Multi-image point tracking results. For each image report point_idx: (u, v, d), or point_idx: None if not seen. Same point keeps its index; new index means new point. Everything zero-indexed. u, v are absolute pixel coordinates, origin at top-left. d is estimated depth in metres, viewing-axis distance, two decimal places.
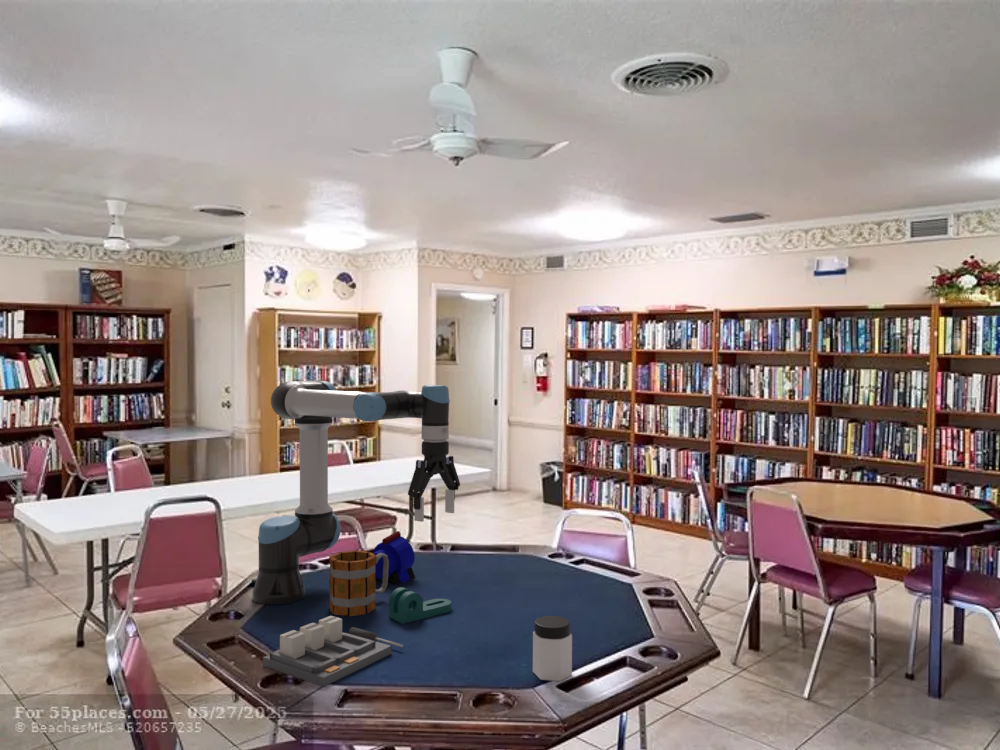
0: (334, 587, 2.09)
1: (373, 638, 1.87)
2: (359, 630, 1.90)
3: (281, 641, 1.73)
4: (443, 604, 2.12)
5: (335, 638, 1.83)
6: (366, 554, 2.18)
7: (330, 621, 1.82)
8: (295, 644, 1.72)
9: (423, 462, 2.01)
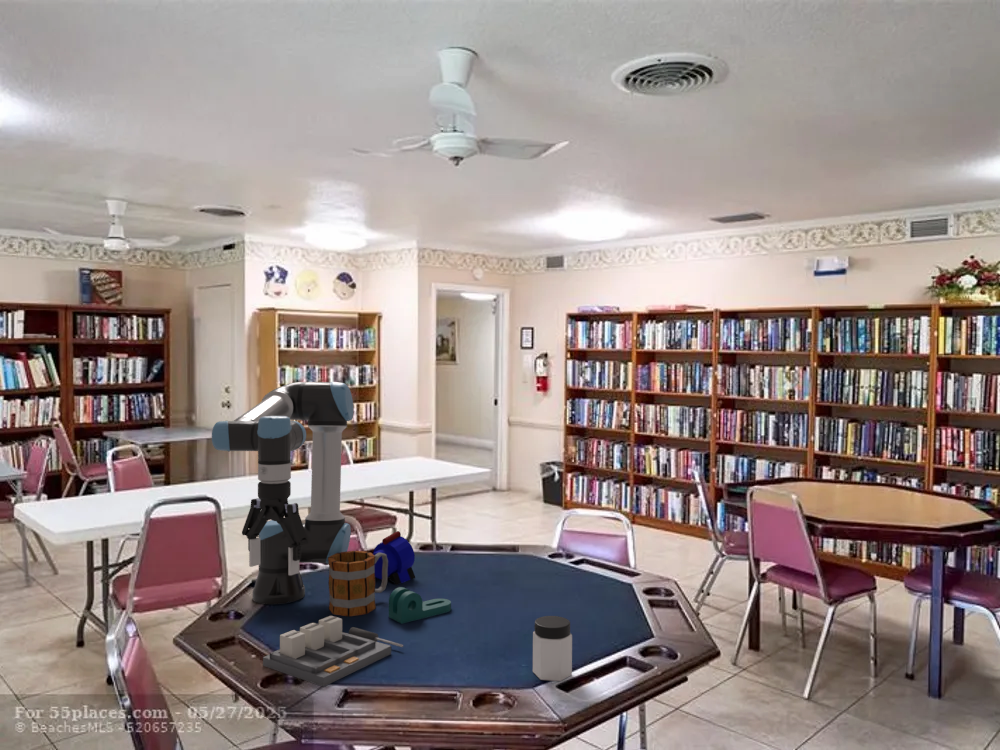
0: (333, 588, 2.09)
1: (373, 638, 1.87)
2: (359, 630, 1.90)
3: (281, 641, 1.73)
4: (443, 604, 2.12)
5: (335, 638, 1.83)
6: (365, 554, 2.18)
7: (330, 621, 1.82)
8: (295, 644, 1.72)
9: (251, 501, 1.80)
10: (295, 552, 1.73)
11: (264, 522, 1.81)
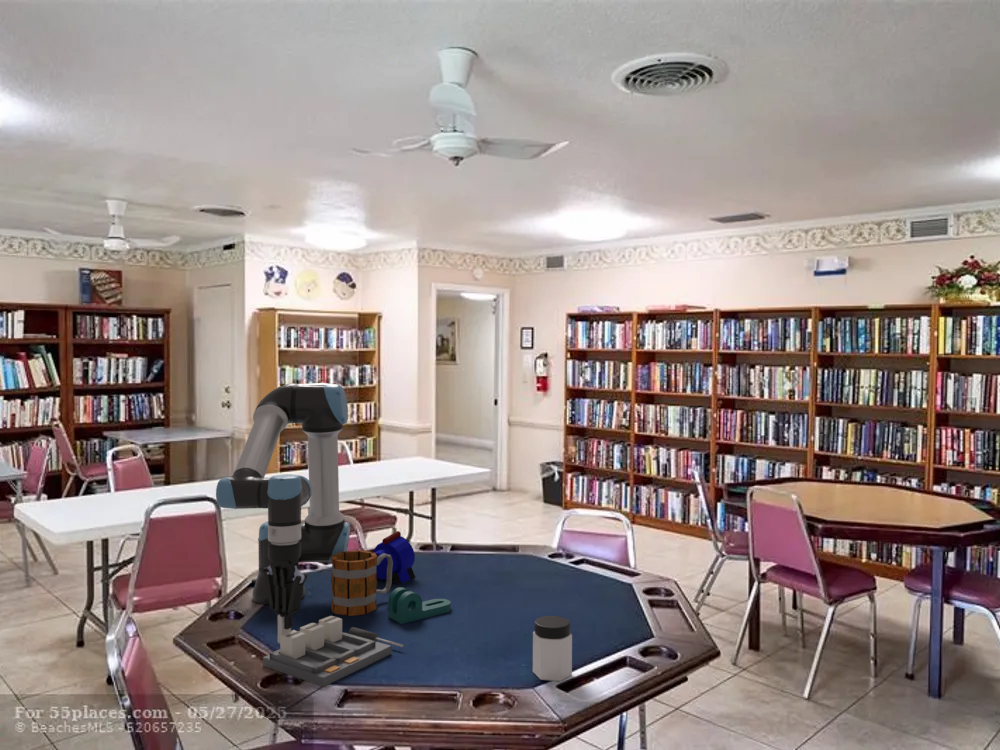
0: (334, 586, 2.10)
1: (373, 638, 1.87)
2: (359, 630, 1.90)
3: (281, 641, 1.73)
4: (442, 604, 2.12)
5: (335, 638, 1.83)
6: (369, 554, 2.18)
7: (330, 621, 1.82)
8: (295, 644, 1.72)
9: None
10: (286, 621, 1.74)
11: None
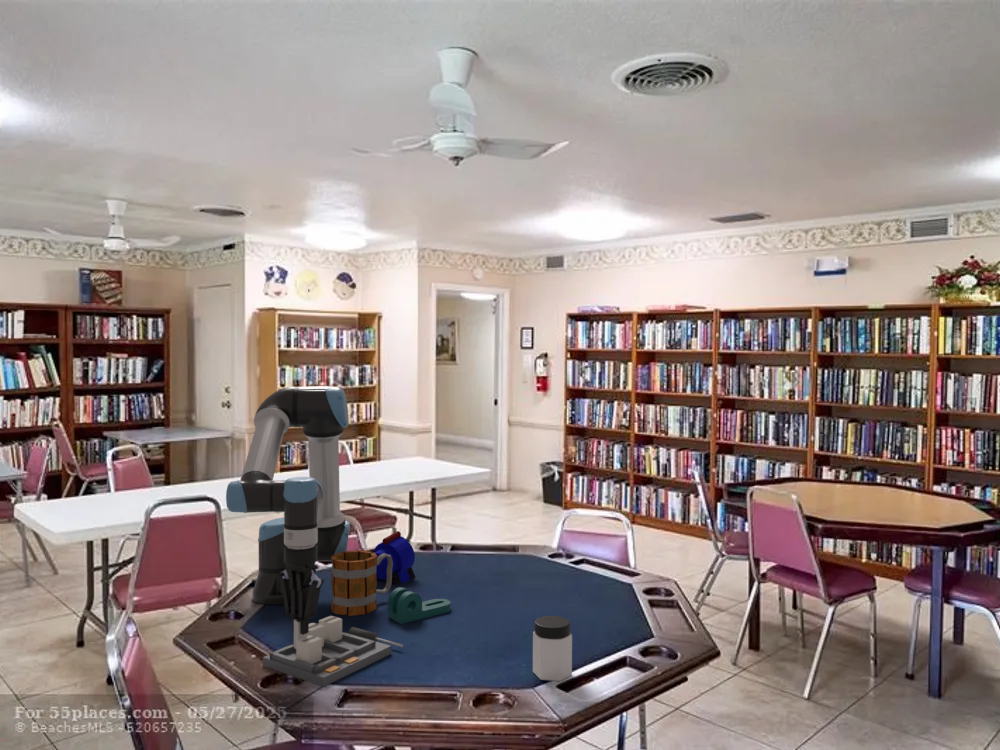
0: (334, 586, 2.10)
1: (373, 638, 1.87)
2: (359, 630, 1.90)
3: (297, 646, 1.70)
4: (442, 604, 2.12)
5: (335, 638, 1.83)
6: (369, 554, 2.18)
7: (330, 621, 1.82)
8: (312, 649, 1.69)
9: (279, 575, 1.74)
10: (303, 626, 1.71)
11: None
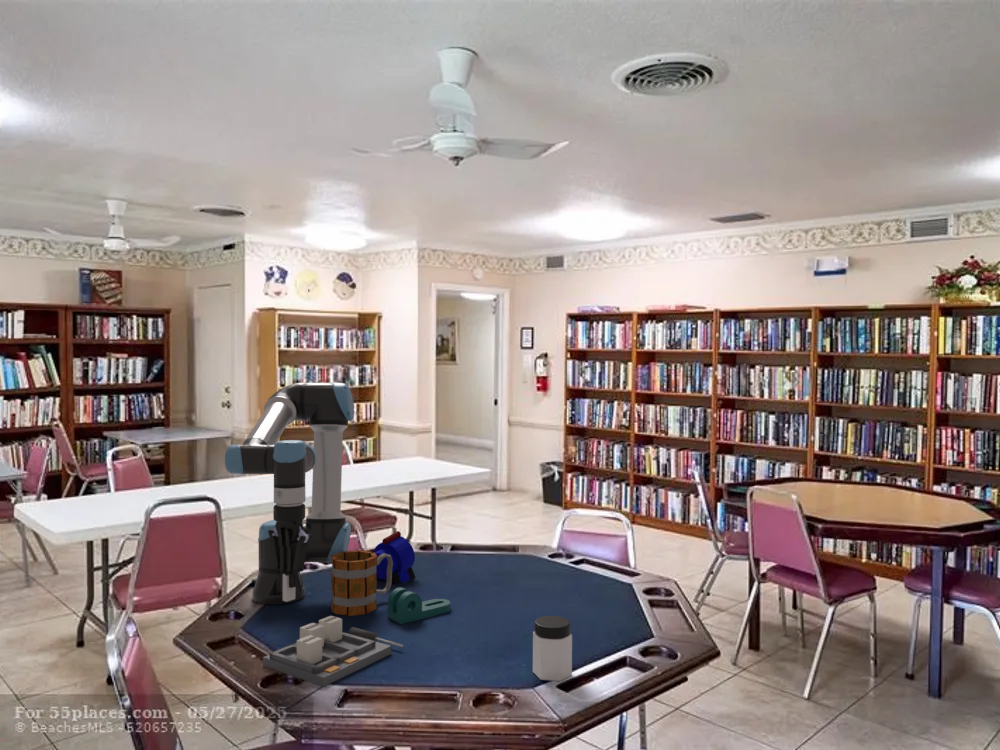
0: (334, 586, 2.10)
1: (373, 638, 1.87)
2: (359, 630, 1.90)
3: (298, 646, 1.70)
4: (442, 604, 2.12)
5: (335, 638, 1.83)
6: (369, 554, 2.18)
7: (330, 621, 1.82)
8: (312, 649, 1.69)
9: (269, 532, 1.85)
10: (291, 579, 1.81)
11: None
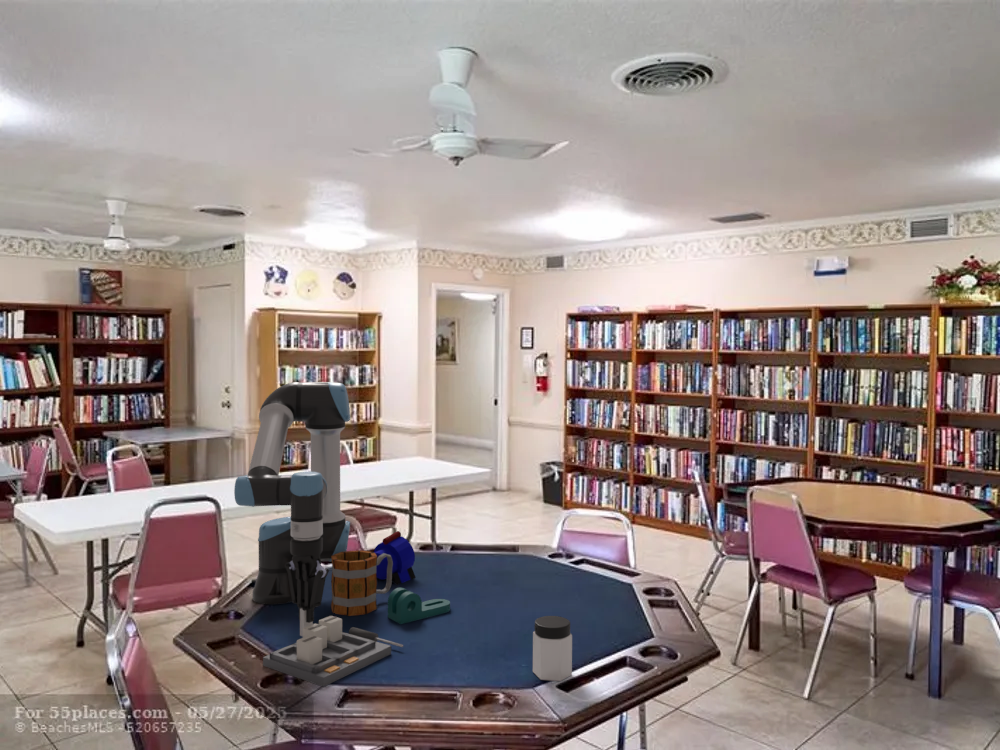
0: (334, 586, 2.10)
1: (373, 638, 1.87)
2: (359, 630, 1.90)
3: (298, 646, 1.70)
4: (442, 604, 2.12)
5: (335, 638, 1.83)
6: (369, 554, 2.18)
7: (330, 621, 1.82)
8: (312, 649, 1.69)
9: (285, 565, 1.82)
10: (308, 614, 1.78)
11: None
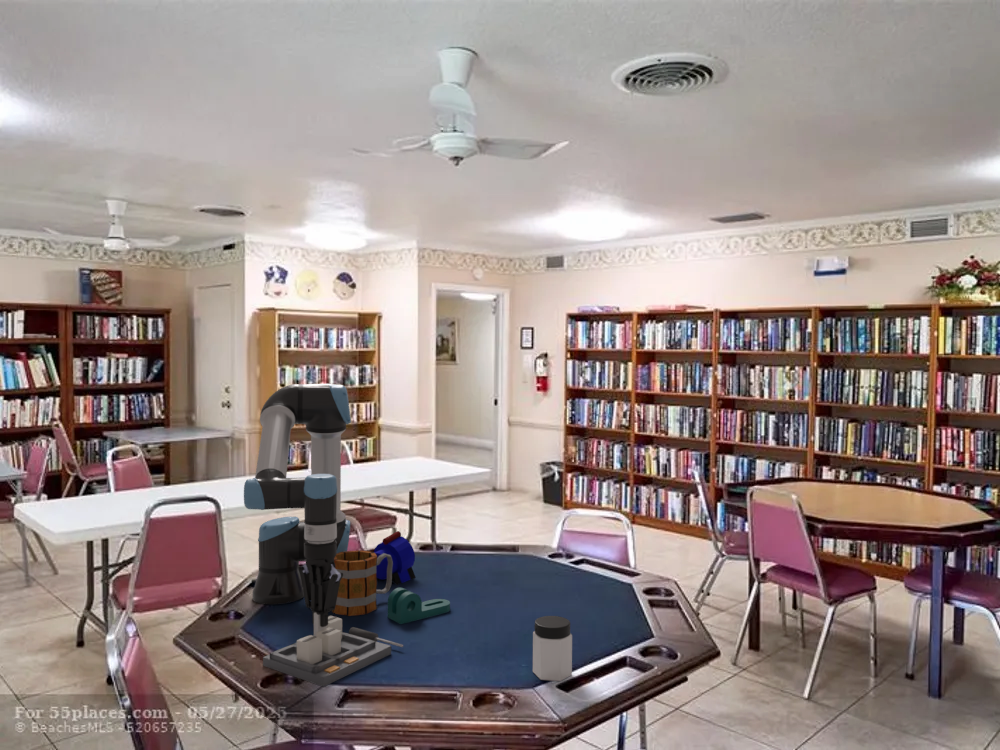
0: None
1: (373, 638, 1.87)
2: (359, 630, 1.90)
3: (298, 646, 1.70)
4: (442, 604, 2.12)
5: None
6: (369, 554, 2.18)
7: (330, 621, 1.82)
8: (312, 649, 1.69)
9: (299, 569, 1.79)
10: (322, 618, 1.76)
11: None
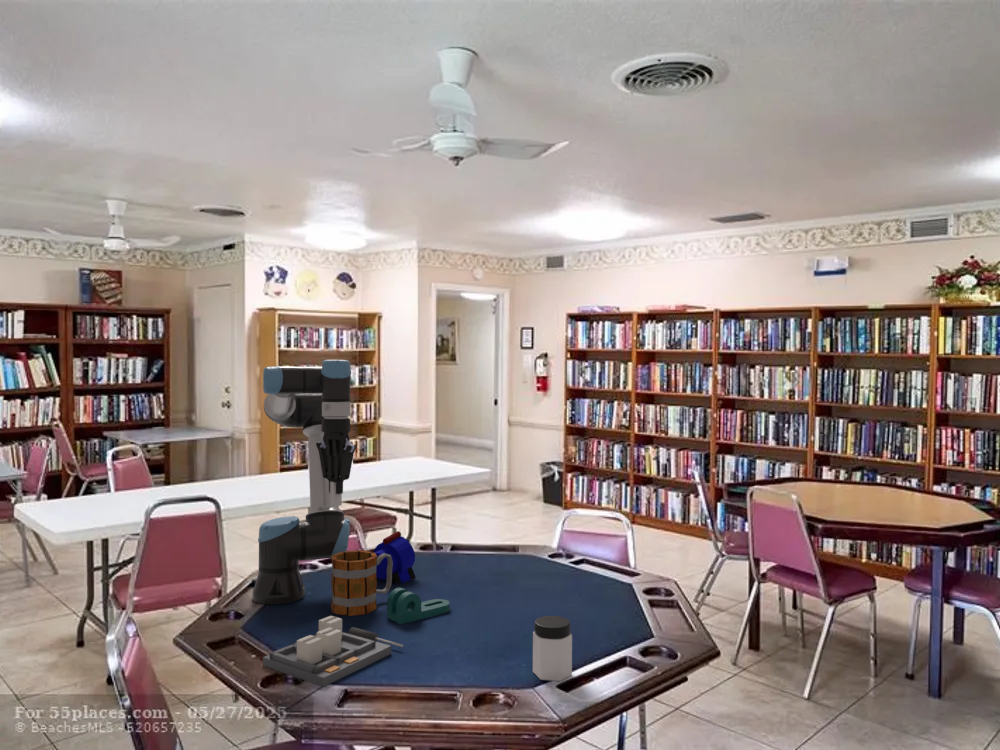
0: (334, 586, 2.10)
1: (373, 638, 1.87)
2: (359, 630, 1.90)
3: (298, 646, 1.70)
4: (441, 605, 2.11)
5: None
6: (369, 554, 2.18)
7: (330, 621, 1.82)
8: (312, 649, 1.69)
9: (316, 444, 2.01)
10: (338, 486, 1.98)
11: (335, 459, 2.00)
